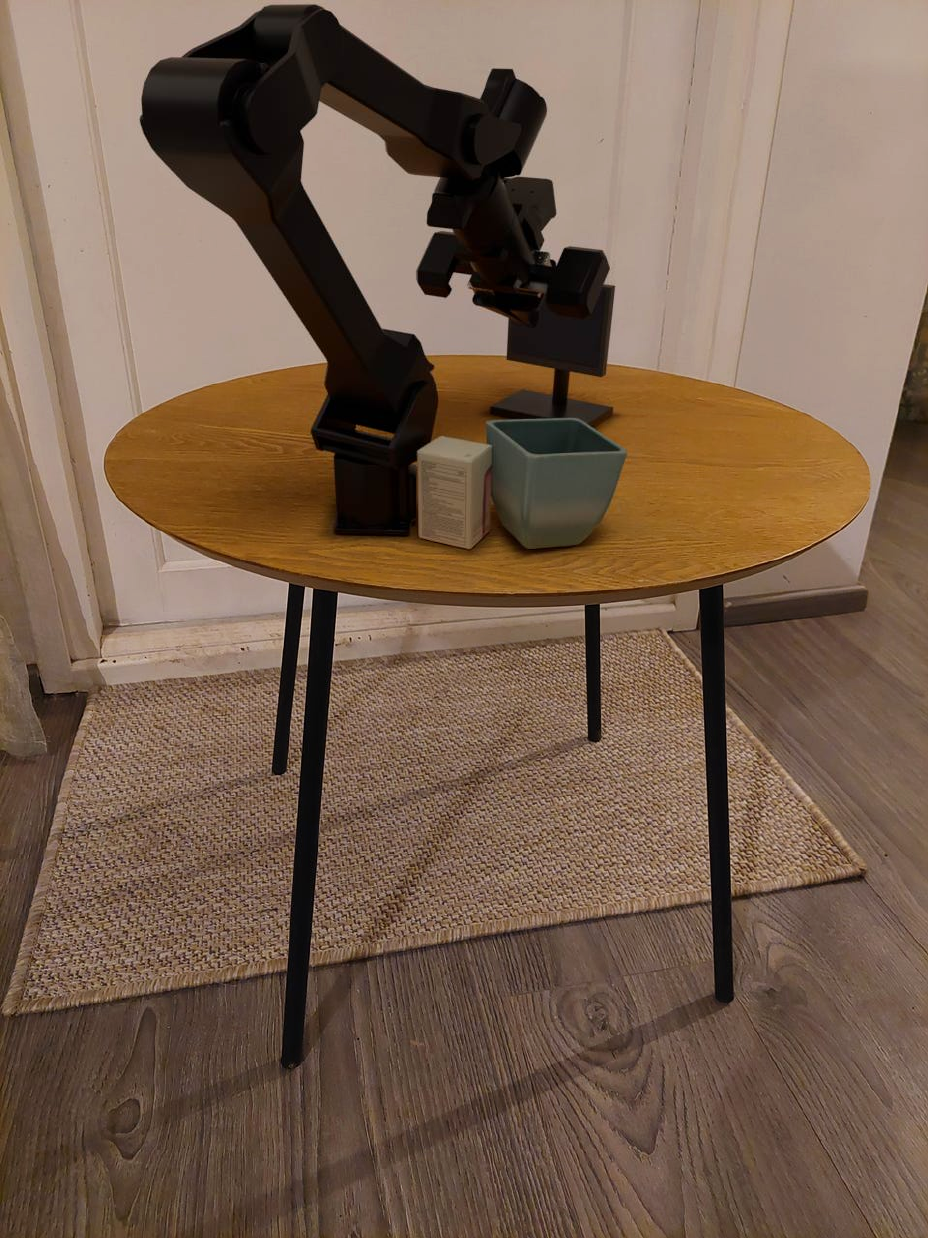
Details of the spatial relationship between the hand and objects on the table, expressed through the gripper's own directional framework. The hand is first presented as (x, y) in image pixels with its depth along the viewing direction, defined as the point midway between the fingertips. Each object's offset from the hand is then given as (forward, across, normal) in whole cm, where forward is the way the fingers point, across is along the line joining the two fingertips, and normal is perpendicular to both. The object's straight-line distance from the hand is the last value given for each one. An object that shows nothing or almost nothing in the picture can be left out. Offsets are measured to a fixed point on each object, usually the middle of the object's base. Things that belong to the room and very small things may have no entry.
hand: (533, 323), depth 95 cm
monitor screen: (+9, 0, 0) cm, 9 cm away
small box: (-11, -7, +28) cm, 31 cm away
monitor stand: (+12, 0, +4) cm, 13 cm away
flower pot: (-9, -14, +25) cm, 30 cm away
